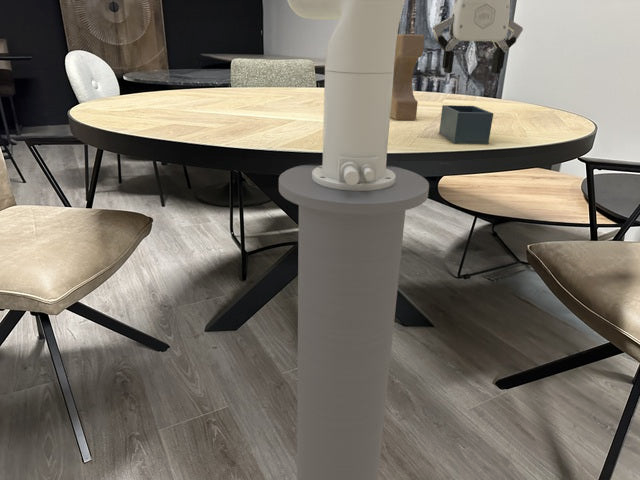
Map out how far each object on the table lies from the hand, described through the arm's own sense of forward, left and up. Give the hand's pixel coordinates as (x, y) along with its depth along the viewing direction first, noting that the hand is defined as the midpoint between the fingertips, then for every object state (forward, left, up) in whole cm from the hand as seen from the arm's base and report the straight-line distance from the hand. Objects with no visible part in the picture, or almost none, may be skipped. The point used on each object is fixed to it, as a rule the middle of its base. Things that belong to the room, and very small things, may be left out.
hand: (471, 72), depth 94 cm
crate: (0, 0, -13) cm, 13 cm away
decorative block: (+28, +8, -13) cm, 32 cm away
